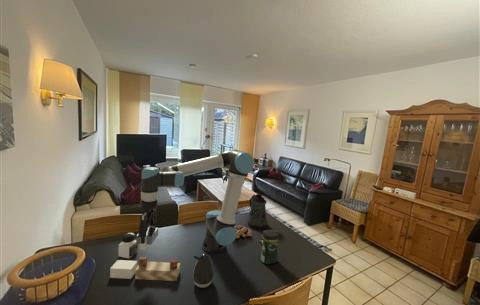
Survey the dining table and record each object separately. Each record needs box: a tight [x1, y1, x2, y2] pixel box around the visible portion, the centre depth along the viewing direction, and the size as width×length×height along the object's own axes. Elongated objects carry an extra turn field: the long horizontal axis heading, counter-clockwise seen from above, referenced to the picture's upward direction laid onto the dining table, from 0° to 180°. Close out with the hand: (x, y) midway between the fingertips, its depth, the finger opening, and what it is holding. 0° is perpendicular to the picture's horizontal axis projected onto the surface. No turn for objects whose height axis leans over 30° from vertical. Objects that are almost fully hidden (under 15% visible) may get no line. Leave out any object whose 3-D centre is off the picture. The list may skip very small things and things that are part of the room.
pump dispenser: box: [192, 253, 215, 289], centre depth 100 cm, size 10×10×15 cm
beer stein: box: [246, 193, 268, 230], centre depth 169 cm, size 16×19×25 cm
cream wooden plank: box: [134, 256, 181, 282], centre depth 104 cm, size 20×6×9 cm, turn 92°
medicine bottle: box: [118, 232, 139, 259], centre depth 119 cm, size 7×7×12 cm
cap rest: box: [109, 259, 138, 280], centre depth 103 cm, size 10×6×5 cm, turn 92°
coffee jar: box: [260, 229, 280, 265], centre depth 122 cm, size 10×8×19 cm
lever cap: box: [135, 226, 159, 246], centre depth 102 cm, size 7×9×5 cm
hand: (147, 243), depth 102 cm, fingers closed on lever cap, 9 cm apart
